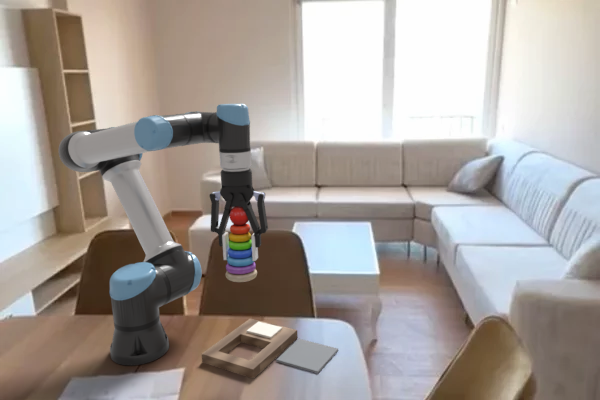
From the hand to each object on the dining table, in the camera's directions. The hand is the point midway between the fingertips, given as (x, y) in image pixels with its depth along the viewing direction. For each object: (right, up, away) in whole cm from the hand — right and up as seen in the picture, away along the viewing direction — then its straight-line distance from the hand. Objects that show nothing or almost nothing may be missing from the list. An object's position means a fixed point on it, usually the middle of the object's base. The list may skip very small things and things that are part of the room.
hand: (240, 258), depth 125 cm
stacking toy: (0, -5, +1) cm, 5 cm away
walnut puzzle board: (+2, -26, +9) cm, 27 cm away
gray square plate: (+17, -26, +5) cm, 32 cm away
